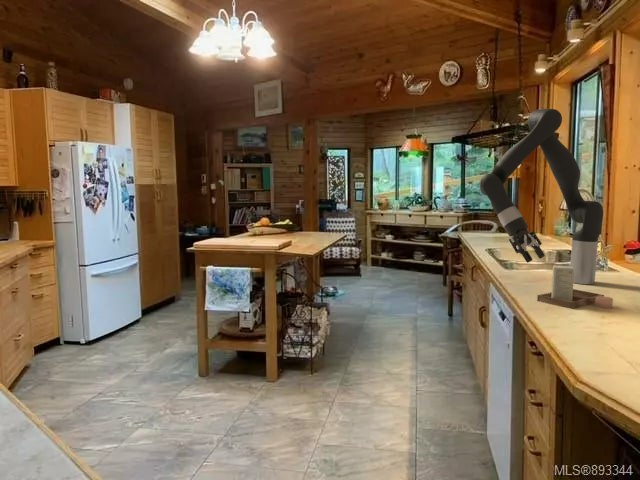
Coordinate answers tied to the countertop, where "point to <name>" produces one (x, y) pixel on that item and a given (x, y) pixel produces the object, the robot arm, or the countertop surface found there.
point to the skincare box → (562, 282)
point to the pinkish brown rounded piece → (603, 302)
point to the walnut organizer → (578, 299)
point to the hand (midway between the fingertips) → (536, 259)
